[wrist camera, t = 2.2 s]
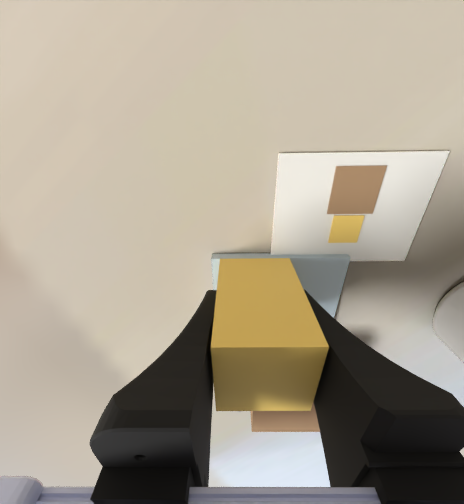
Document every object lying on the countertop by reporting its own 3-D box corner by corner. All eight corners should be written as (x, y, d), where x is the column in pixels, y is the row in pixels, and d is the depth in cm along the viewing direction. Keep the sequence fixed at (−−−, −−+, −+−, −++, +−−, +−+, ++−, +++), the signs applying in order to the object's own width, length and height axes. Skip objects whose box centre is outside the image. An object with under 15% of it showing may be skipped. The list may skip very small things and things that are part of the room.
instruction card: (402, 259, 13) (405, 261, 13) (269, 260, 14) (270, 262, 13) (446, 150, 11) (451, 151, 10) (278, 152, 11) (279, 153, 10)
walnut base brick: (319, 389, 19) (333, 431, 16) (249, 389, 19) (251, 431, 16) (334, 341, 16) (354, 382, 13) (251, 341, 16) (254, 382, 13)
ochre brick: (282, 310, 15) (310, 410, 9) (222, 310, 15) (216, 411, 9) (289, 258, 13) (329, 347, 7) (220, 258, 13) (210, 347, 8)
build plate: (313, 375, 19) (315, 382, 18) (220, 376, 19) (219, 383, 19) (346, 252, 13) (350, 257, 13) (212, 253, 13) (211, 258, 13)
